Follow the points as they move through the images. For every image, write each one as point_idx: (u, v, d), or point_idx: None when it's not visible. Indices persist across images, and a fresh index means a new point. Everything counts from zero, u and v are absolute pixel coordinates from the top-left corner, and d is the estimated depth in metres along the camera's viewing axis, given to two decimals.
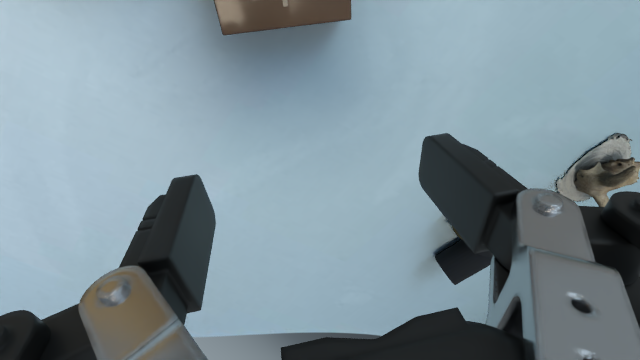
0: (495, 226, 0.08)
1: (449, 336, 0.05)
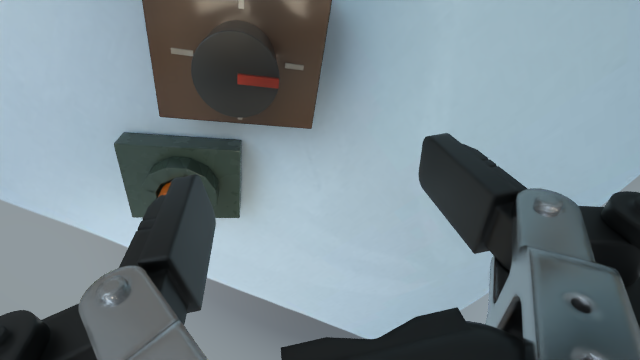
0: (495, 226, 0.08)
1: (449, 336, 0.05)
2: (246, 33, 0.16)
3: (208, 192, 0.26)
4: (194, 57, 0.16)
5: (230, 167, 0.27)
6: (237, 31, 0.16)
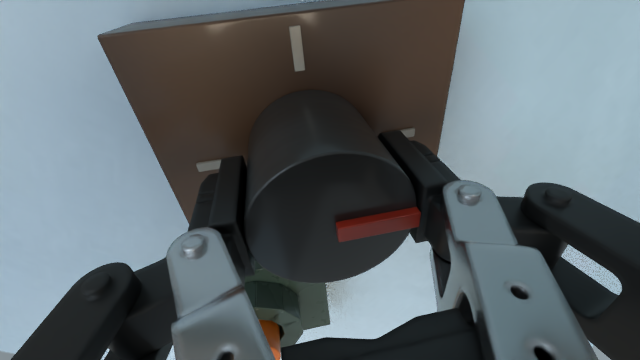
0: (429, 216, 0.08)
1: (449, 336, 0.05)
2: (347, 149, 0.07)
3: (289, 323, 0.18)
4: (247, 221, 0.07)
5: None
6: (328, 153, 0.07)
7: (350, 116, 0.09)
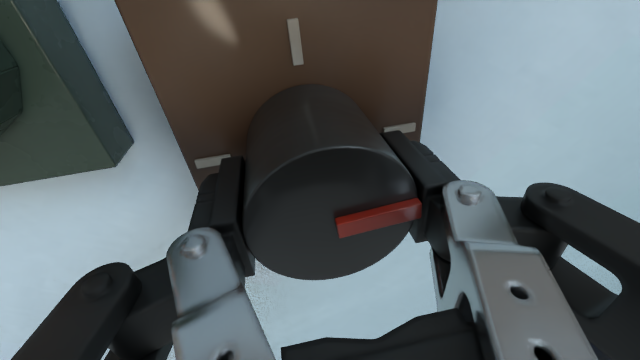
0: (429, 216, 0.08)
1: (449, 336, 0.05)
2: (339, 144, 0.07)
3: None
4: (245, 223, 0.07)
5: (57, 158, 0.11)
6: (320, 149, 0.07)
7: (344, 109, 0.09)
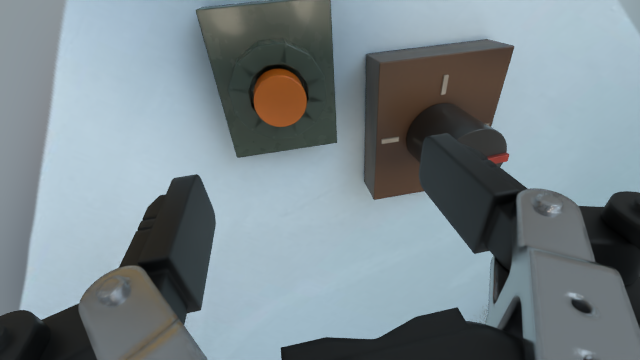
0: (495, 226, 0.08)
1: (449, 336, 0.05)
2: (484, 128, 0.18)
3: (293, 128, 0.20)
4: None
5: (314, 137, 0.22)
6: (478, 129, 0.18)
7: (471, 115, 0.20)
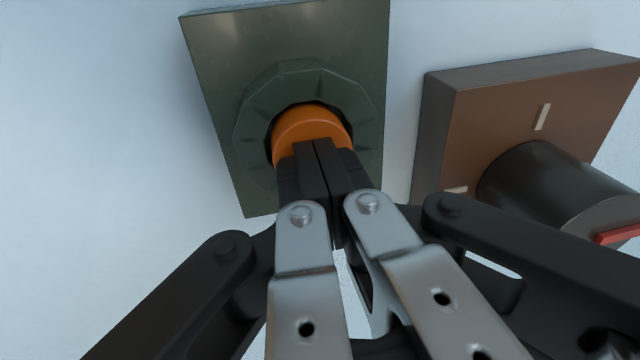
0: (341, 224, 0.08)
1: None
2: (626, 192, 0.12)
3: None
4: None
5: None
6: (618, 196, 0.12)
7: (586, 163, 0.14)
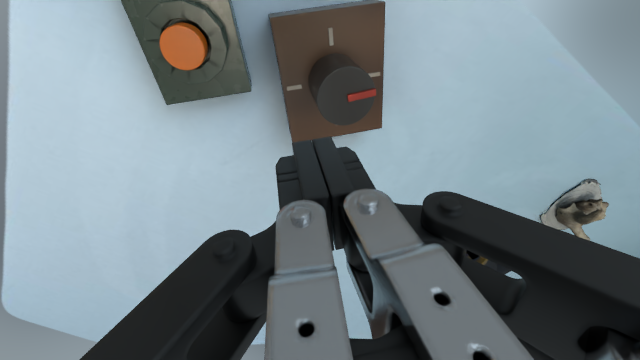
0: (341, 224, 0.08)
1: None
2: (348, 66, 0.23)
3: (203, 74, 0.24)
4: (318, 94, 0.23)
5: (230, 86, 0.27)
6: (343, 67, 0.22)
7: (350, 60, 0.25)
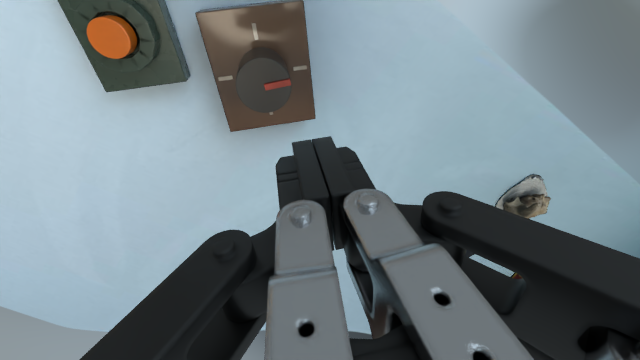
0: (341, 223, 0.08)
1: None
2: (262, 57, 0.25)
3: (135, 63, 0.27)
4: (236, 82, 0.25)
5: (165, 75, 0.29)
6: (256, 58, 0.25)
7: (270, 53, 0.27)
